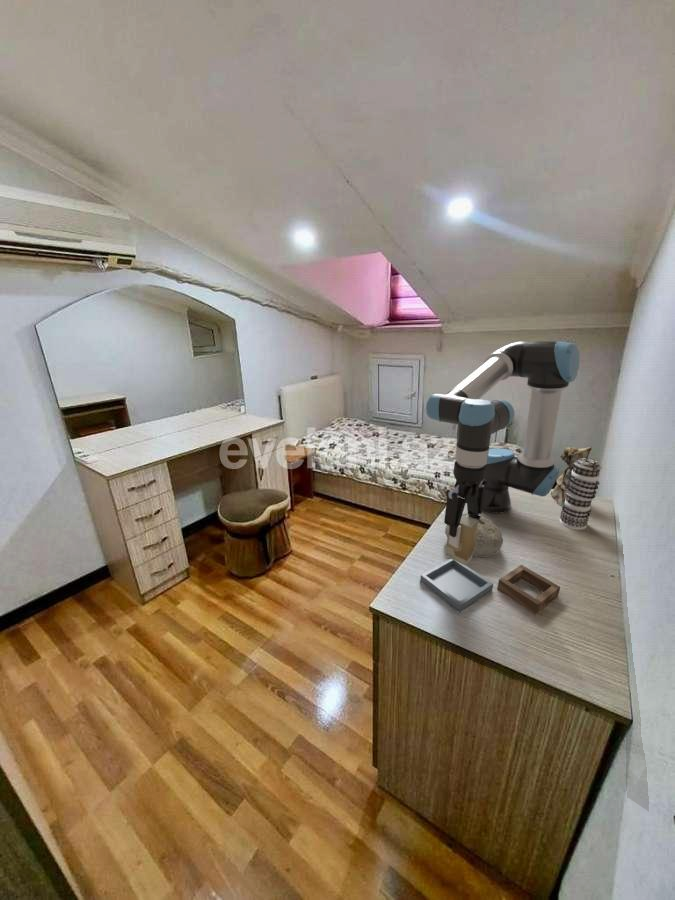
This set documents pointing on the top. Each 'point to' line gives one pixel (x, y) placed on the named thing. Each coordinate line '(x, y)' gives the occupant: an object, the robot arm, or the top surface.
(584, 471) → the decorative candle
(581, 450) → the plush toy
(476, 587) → the tray
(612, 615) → the top surface
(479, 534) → the decorative shell
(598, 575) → the top surface
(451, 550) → the skincare box
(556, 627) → the top surface
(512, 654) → the top surface
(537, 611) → the socket block
